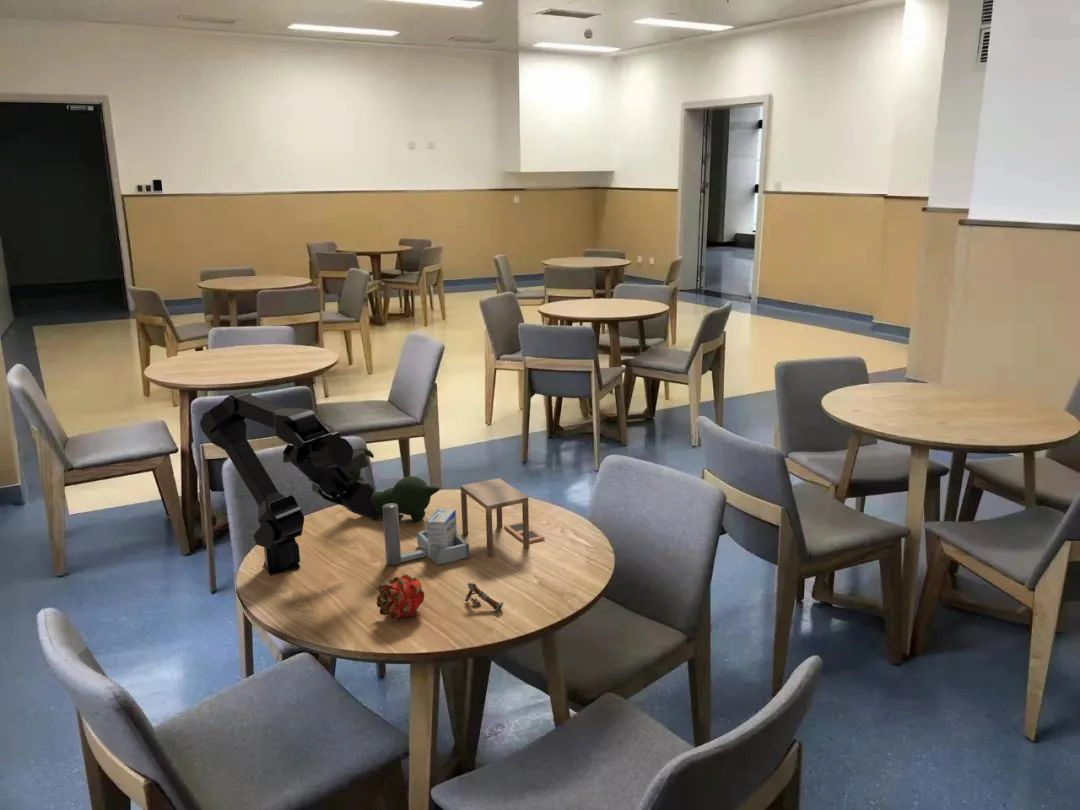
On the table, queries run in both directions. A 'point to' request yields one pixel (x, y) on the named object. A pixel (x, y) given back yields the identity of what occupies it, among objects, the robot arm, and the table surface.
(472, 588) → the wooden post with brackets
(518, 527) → the pit plate
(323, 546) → the table surface
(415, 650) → the table surface
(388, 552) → the grey post with tray
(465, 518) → the miniature wooden table
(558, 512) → the table surface
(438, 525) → the medicine box
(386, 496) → the toy figurine
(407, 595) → the dragon fruit
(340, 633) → the table surface
